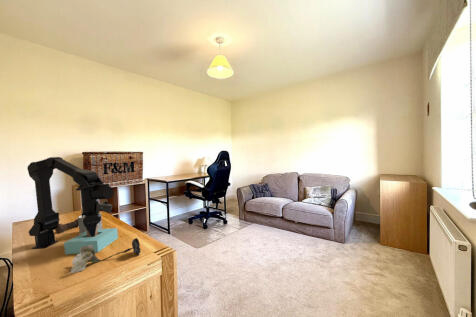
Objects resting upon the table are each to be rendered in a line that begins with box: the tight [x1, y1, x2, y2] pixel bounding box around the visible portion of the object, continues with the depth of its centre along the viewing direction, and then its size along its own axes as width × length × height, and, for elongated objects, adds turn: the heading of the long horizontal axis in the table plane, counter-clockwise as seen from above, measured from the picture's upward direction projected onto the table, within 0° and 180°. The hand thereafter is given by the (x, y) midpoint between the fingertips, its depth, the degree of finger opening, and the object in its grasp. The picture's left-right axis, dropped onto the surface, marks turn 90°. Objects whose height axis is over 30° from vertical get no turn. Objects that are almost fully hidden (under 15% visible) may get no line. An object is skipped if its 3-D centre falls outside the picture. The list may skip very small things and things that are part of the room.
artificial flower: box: [70, 237, 142, 274], centre depth 76 cm, size 9×22×10 cm, turn 110°
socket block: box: [63, 227, 119, 255], centre depth 92 cm, size 14×14×5 cm
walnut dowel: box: [86, 226, 98, 237], centre depth 92 cm, size 4×4×10 cm
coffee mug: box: [77, 211, 103, 235], centre depth 109 cm, size 13×10×10 cm
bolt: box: [54, 218, 79, 234], centre depth 119 cm, size 6×5×15 cm
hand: (92, 233), depth 92 cm, fingers open, 9 cm apart
